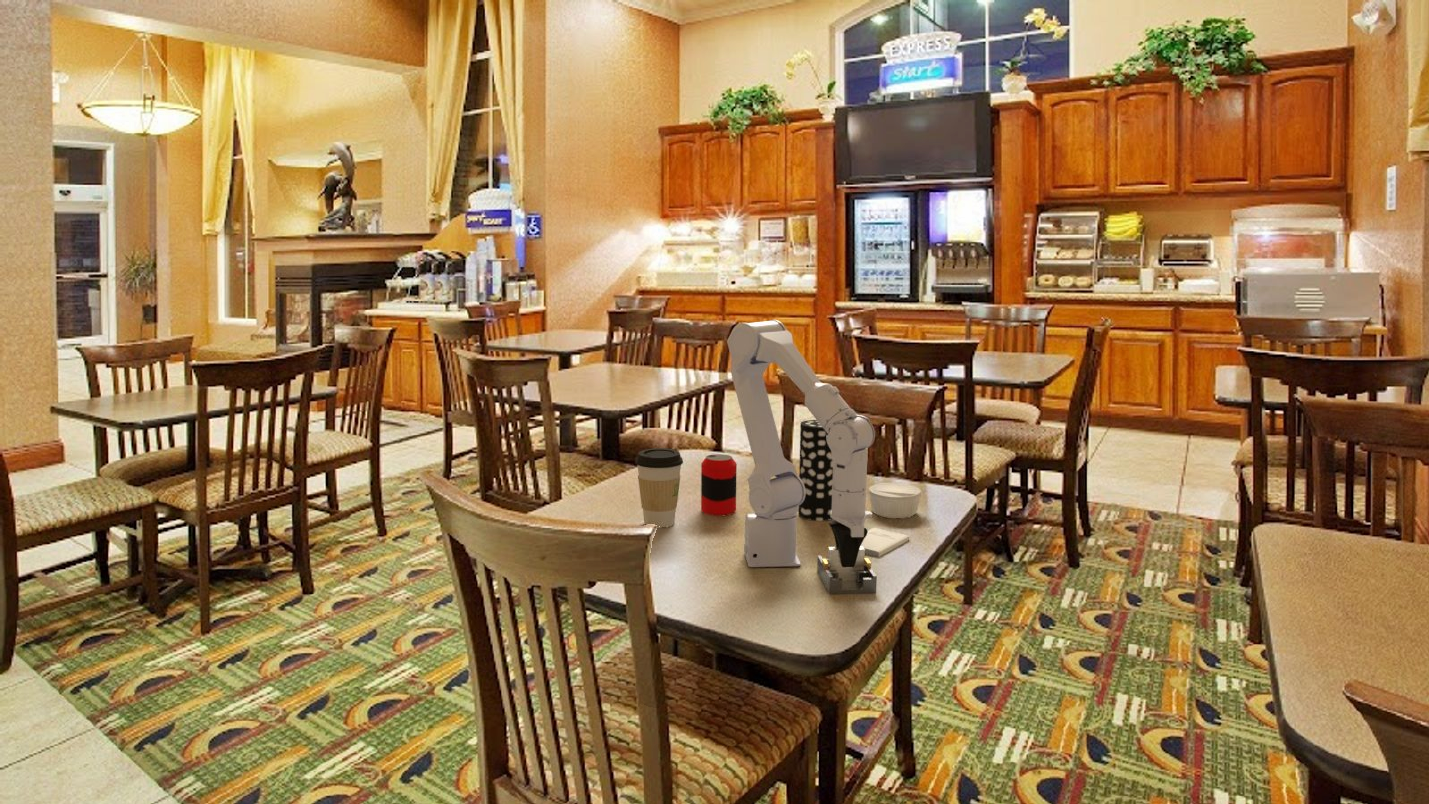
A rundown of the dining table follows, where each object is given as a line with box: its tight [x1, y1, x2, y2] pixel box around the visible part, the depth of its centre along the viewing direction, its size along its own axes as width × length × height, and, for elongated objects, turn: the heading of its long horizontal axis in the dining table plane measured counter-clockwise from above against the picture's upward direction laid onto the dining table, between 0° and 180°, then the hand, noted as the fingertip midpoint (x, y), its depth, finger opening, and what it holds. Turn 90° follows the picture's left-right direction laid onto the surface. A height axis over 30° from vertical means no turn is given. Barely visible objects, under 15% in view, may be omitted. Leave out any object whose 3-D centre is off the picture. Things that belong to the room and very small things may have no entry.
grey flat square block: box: [827, 546, 866, 580], centre depth 157 cm, size 6×2×6 cm, turn 95°
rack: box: [816, 554, 878, 595], centre depth 158 cm, size 8×10×4 cm
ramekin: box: [868, 482, 922, 519], centre depth 198 cm, size 11×11×5 cm
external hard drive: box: [861, 527, 910, 558], centre depth 178 cm, size 2×8×12 cm
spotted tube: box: [797, 419, 833, 522], centre depth 194 cm, size 8×8×20 cm
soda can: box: [700, 453, 738, 517], centre depth 197 cm, size 8×8×12 cm
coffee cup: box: [634, 447, 684, 528], centre depth 188 cm, size 10×10×15 cm
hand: (846, 564), depth 157 cm, fingers closed on grey flat square block, 2 cm apart
